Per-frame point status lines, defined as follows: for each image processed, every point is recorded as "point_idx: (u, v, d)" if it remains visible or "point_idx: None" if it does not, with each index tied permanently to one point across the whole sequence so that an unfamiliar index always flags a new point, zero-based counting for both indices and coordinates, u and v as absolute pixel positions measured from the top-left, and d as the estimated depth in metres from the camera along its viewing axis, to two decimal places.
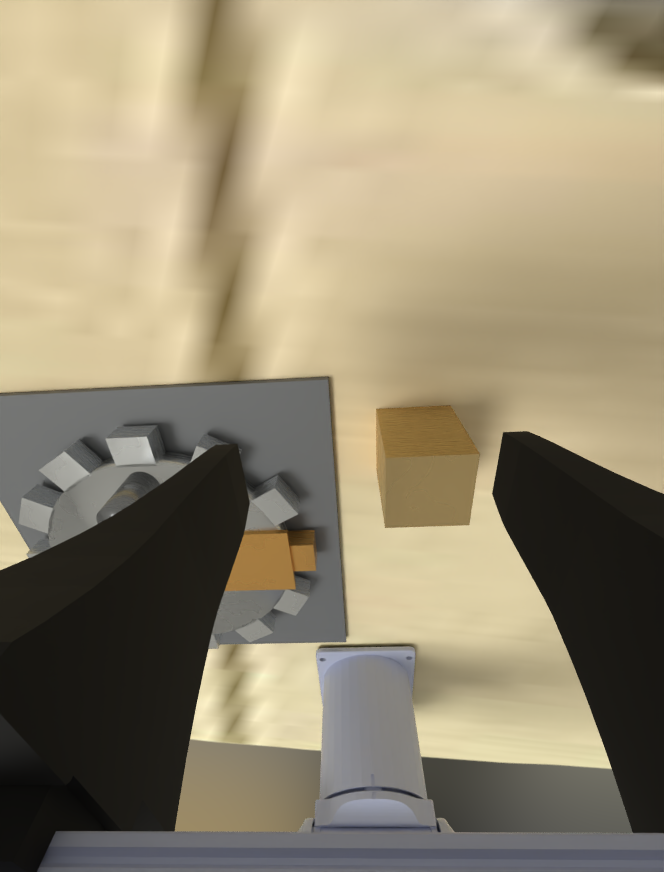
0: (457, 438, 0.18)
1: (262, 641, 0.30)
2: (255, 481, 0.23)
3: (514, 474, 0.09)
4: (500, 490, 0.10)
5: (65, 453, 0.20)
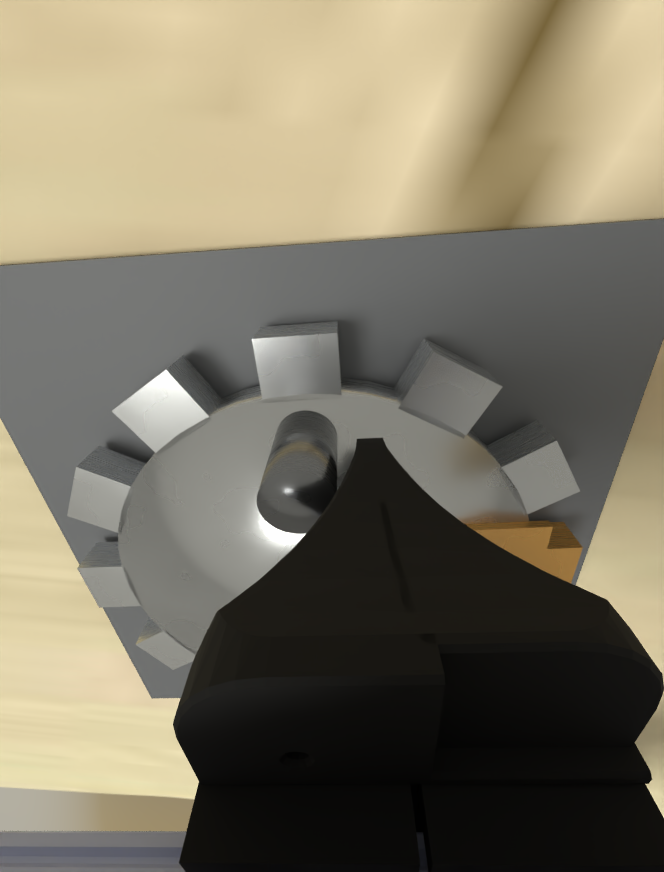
0: None
1: None
2: (485, 437, 0.13)
3: None
4: None
5: (167, 374, 0.10)
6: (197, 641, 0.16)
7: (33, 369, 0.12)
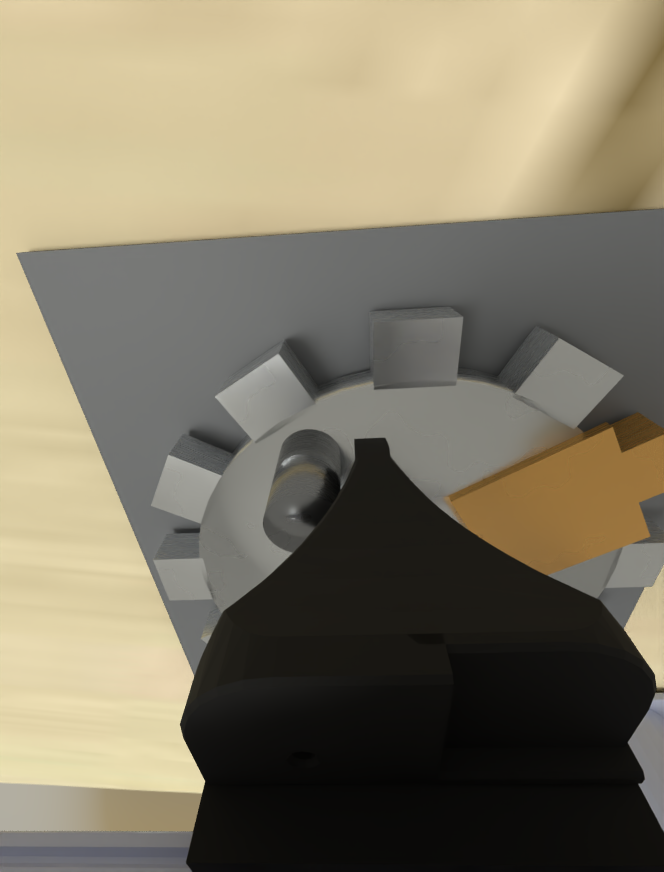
0: None
1: None
2: (579, 427, 0.13)
3: None
4: None
5: (171, 457, 0.11)
6: None
7: (121, 356, 0.12)
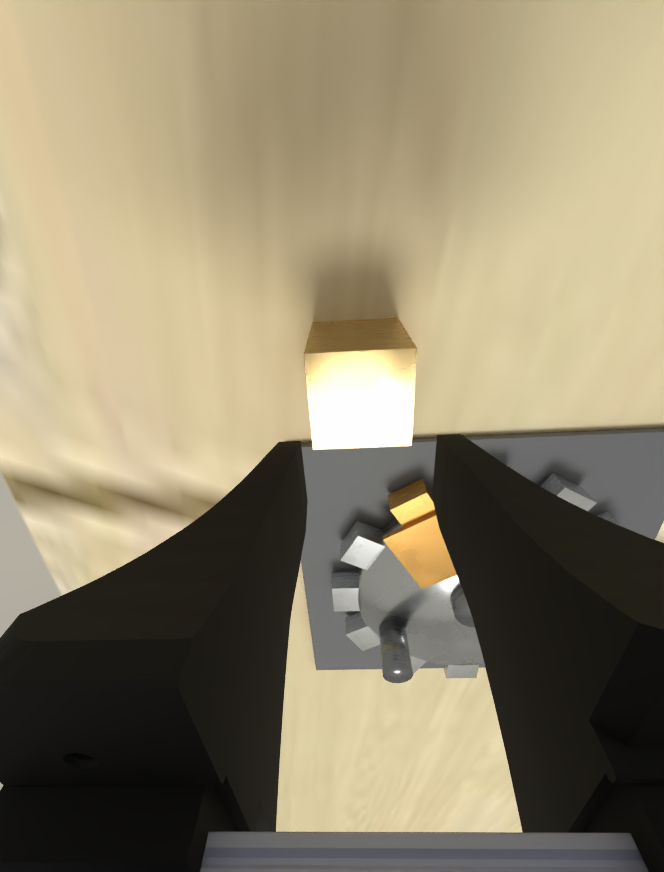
0: None
1: (656, 527, 0.23)
2: None
3: (444, 477, 0.09)
4: (436, 492, 0.10)
5: None
6: None
7: (351, 655, 0.30)
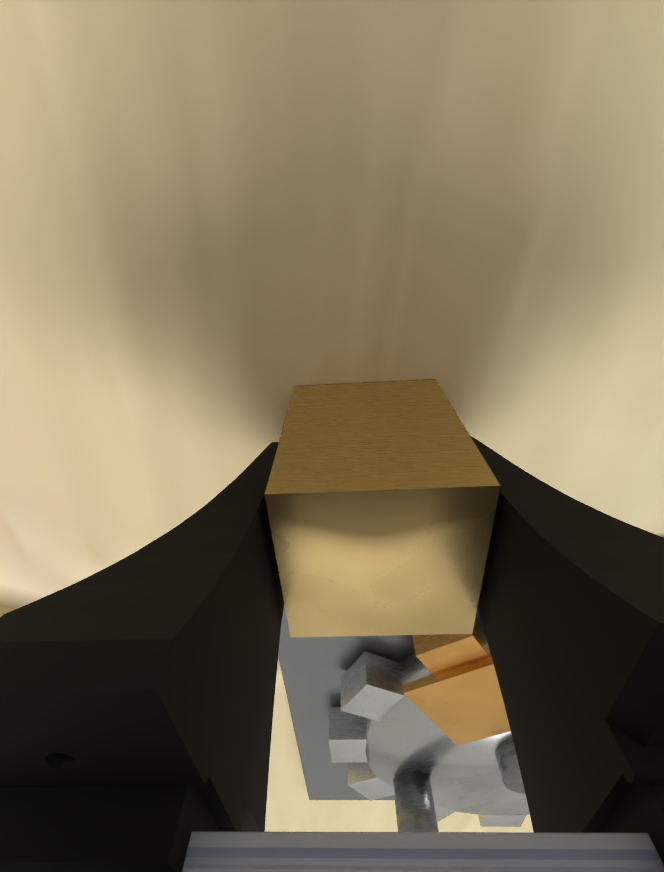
0: None
1: None
2: None
3: None
4: None
5: None
6: None
7: None
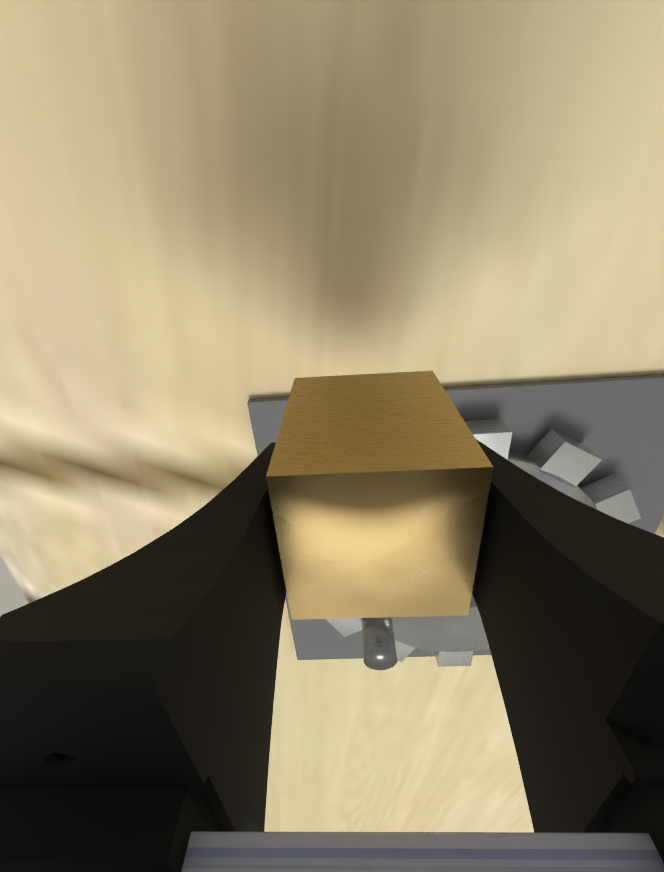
0: None
1: None
2: None
3: None
4: None
5: None
6: None
7: (335, 643, 0.27)
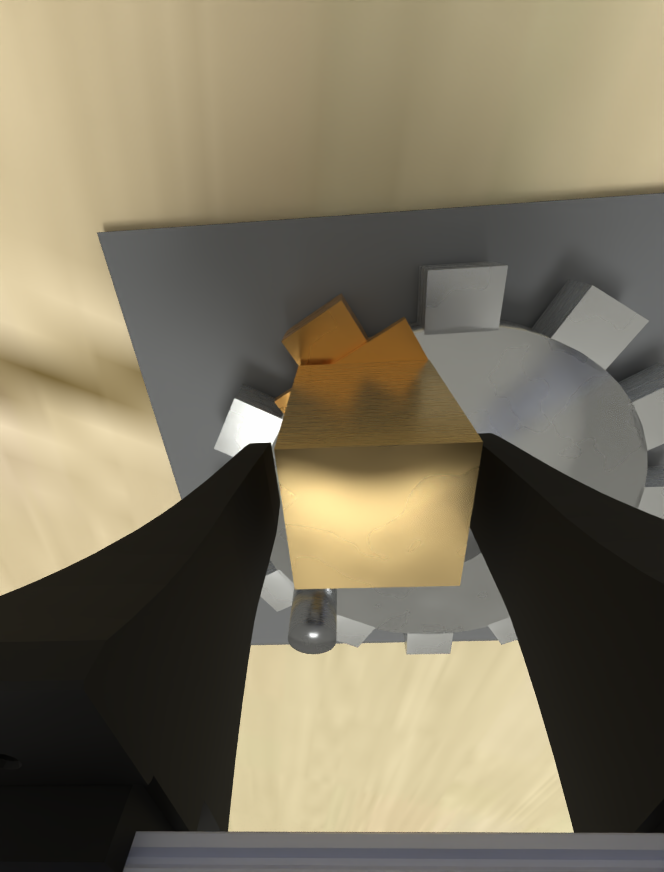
0: None
1: None
2: None
3: None
4: None
5: None
6: None
7: (274, 623, 0.21)
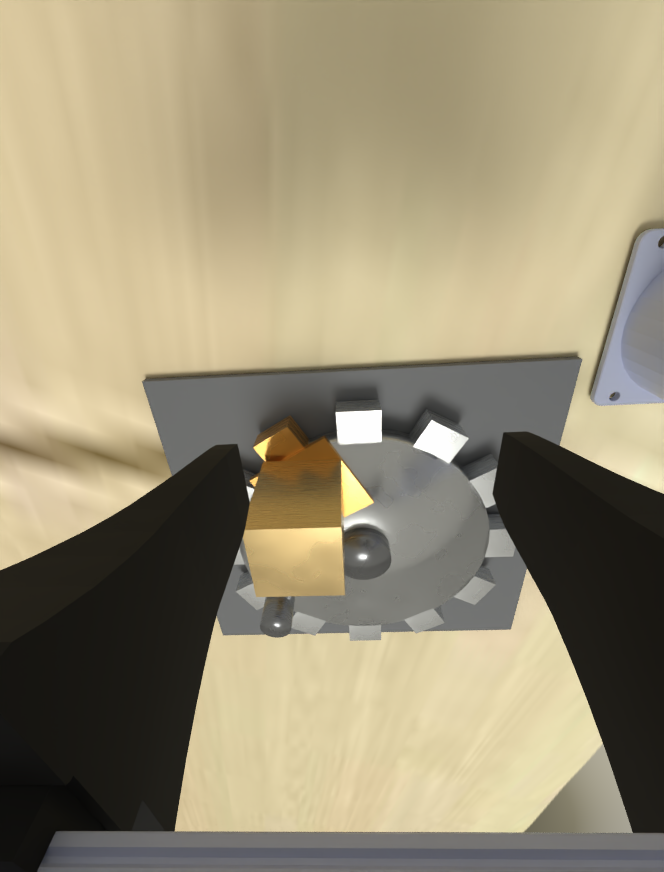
0: None
1: None
2: None
3: (514, 474, 0.09)
4: (500, 490, 0.10)
5: None
6: (456, 581, 0.24)
7: (256, 618, 0.29)
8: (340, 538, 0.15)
